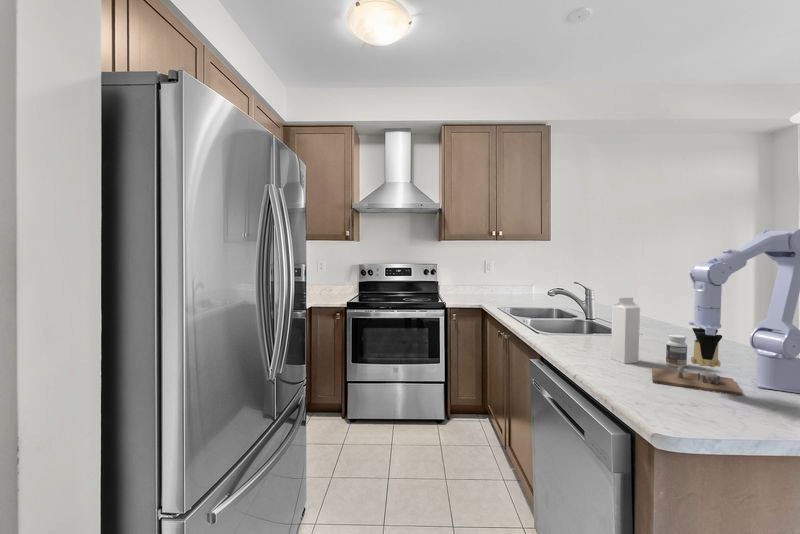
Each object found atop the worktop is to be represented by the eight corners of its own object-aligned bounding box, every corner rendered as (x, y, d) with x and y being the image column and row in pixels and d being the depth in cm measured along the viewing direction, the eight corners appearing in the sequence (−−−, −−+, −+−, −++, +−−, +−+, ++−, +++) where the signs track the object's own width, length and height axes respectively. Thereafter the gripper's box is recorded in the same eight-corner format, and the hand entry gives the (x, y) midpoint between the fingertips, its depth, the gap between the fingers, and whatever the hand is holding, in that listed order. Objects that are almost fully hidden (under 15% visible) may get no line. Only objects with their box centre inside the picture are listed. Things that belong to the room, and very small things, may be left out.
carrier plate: (732, 381, 118) (732, 368, 118) (741, 395, 107) (742, 381, 106) (651, 370, 129) (652, 358, 129) (652, 382, 117) (652, 369, 117)
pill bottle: (666, 361, 139) (667, 333, 138) (687, 364, 135) (688, 335, 135) (664, 365, 134) (665, 335, 134) (685, 368, 131) (686, 338, 130)
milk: (638, 362, 138) (641, 298, 137) (624, 363, 136) (626, 298, 135) (624, 357, 144) (626, 296, 142) (610, 359, 142) (612, 296, 141)
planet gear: (717, 362, 111) (718, 341, 111) (721, 368, 106) (722, 345, 105) (690, 359, 114) (690, 338, 114) (692, 364, 109) (693, 342, 109)
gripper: (686, 303, 117) (685, 349, 118) (692, 309, 105) (690, 361, 106) (717, 304, 114) (715, 352, 114) (726, 311, 101) (724, 365, 102)
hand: (705, 356), depth 110 cm, fingers closed on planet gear, 5 cm apart
